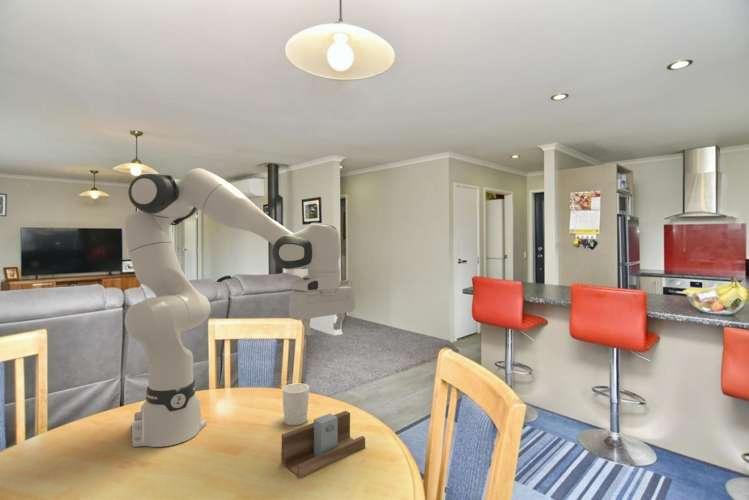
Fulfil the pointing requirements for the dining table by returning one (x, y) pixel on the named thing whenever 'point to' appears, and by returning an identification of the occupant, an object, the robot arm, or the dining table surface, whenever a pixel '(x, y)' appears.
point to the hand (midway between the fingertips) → (323, 332)
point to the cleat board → (301, 447)
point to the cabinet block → (325, 434)
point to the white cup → (295, 403)
